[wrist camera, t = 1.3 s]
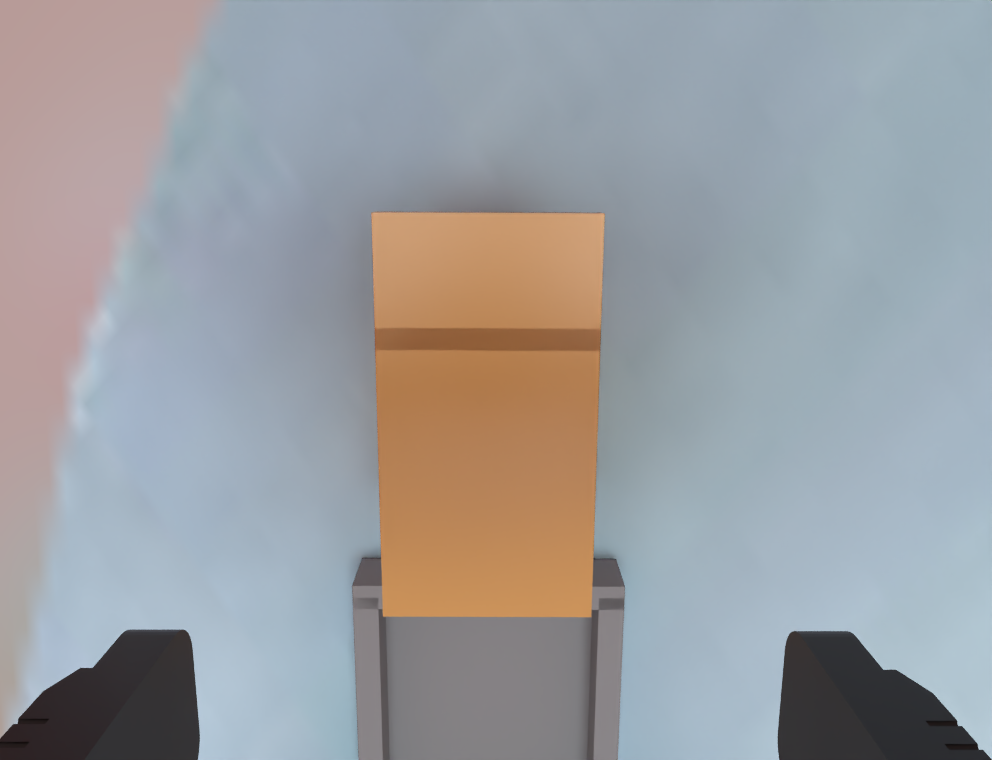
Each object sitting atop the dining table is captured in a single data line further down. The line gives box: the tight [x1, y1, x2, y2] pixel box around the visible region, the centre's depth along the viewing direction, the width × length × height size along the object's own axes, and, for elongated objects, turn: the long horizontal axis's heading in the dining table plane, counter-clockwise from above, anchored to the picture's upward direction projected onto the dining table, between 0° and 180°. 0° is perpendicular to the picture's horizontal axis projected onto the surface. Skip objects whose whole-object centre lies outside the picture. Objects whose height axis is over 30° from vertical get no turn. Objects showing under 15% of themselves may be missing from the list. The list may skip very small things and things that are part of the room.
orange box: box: [371, 212, 605, 617], centre depth 23 cm, size 10×5×8 cm, turn 0°
